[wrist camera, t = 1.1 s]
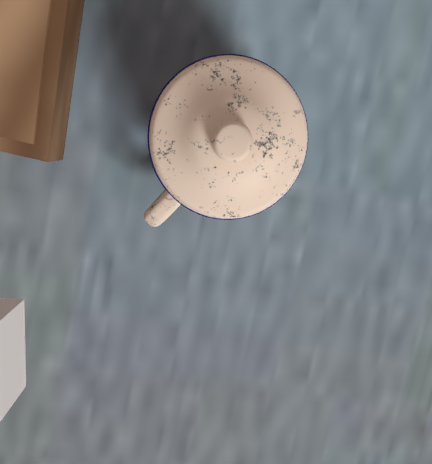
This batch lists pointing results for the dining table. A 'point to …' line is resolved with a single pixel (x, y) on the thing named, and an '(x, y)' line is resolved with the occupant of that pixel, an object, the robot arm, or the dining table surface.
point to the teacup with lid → (225, 139)
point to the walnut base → (37, 74)
